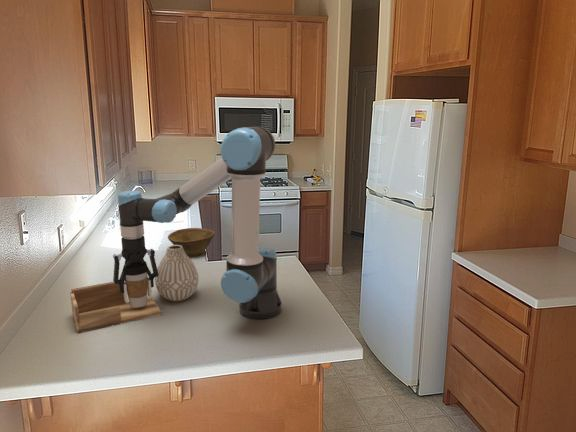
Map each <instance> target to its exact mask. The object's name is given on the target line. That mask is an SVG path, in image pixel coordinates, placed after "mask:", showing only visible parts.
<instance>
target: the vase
mask: <svg viewBox="0 0 576 432" xmlns="http://www.w3.org/2000/svg"><path fill="white" fill-rule="evenodd" d="M157 271H158V277H155V278H154V282H155V288H156V290H157V291H158V293H159V294H160V296H161V297H162V298H164V299H165V300H167V301H169V302H182V301H183V302H184V301H185V300H187V299H189V298H190V297H192V295H193V294H195V292H196V290H197V287H198V285H199V273H198V270H197V267H196V265H195V263H194V261H192V259H191V257H190V256H187V255H186V253H185V251H184V249H183V247H182V246H181V245H173V244H172V245H168V246H167V249H166V252H165V254H164V256H163V258H162V259H161V260H160V262H159V264H158V266H157Z"/></svg>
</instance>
